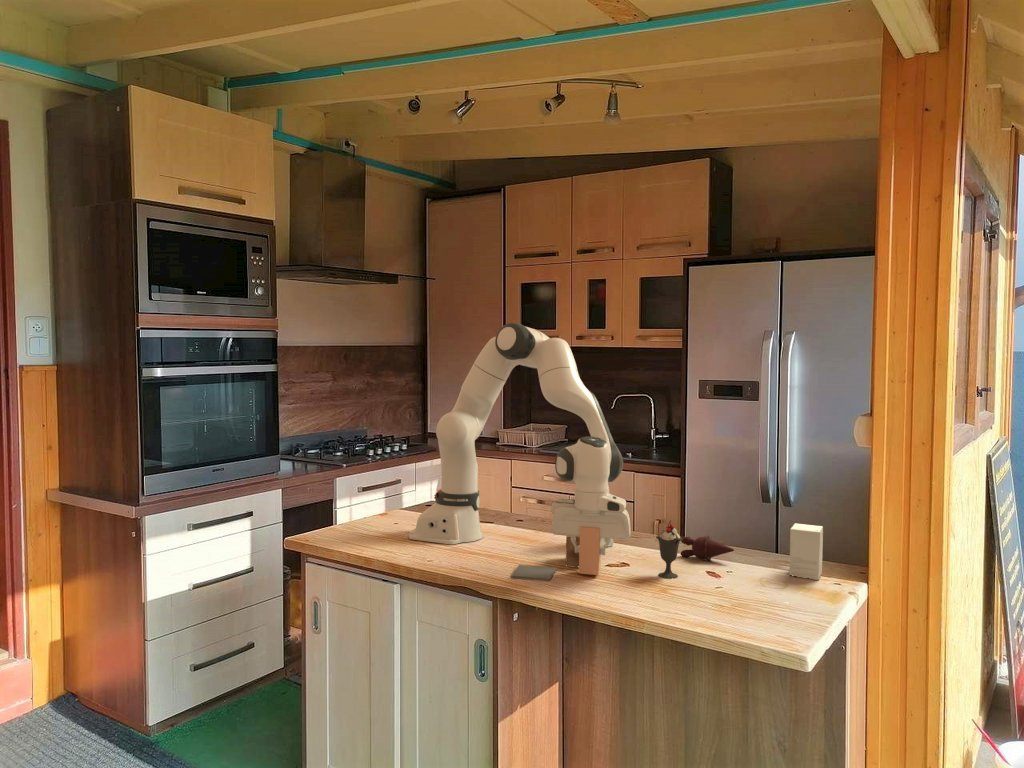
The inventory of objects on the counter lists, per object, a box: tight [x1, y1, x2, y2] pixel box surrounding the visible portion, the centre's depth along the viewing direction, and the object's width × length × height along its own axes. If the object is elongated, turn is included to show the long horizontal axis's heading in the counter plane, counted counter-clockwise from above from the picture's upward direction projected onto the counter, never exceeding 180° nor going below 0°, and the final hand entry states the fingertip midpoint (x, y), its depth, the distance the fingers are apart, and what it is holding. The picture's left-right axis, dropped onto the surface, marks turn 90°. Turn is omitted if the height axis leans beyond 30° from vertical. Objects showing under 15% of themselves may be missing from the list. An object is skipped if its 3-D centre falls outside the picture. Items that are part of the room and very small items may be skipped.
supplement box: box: [789, 523, 824, 581], centre depth 206 cm, size 7×7×13 cm
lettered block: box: [565, 535, 580, 567], centre depth 214 cm, size 8×8×8 cm
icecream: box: [680, 535, 735, 562], centre depth 219 cm, size 7×7×15 cm
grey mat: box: [510, 564, 557, 582], centre depth 204 cm, size 10×10×1 cm
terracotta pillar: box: [578, 527, 602, 576], centre depth 203 cm, size 5×5×12 cm
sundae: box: [655, 519, 683, 580], centre depth 203 cm, size 7×7×15 cm
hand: (590, 553), depth 203 cm, fingers closed on terracotta pillar, 5 cm apart
